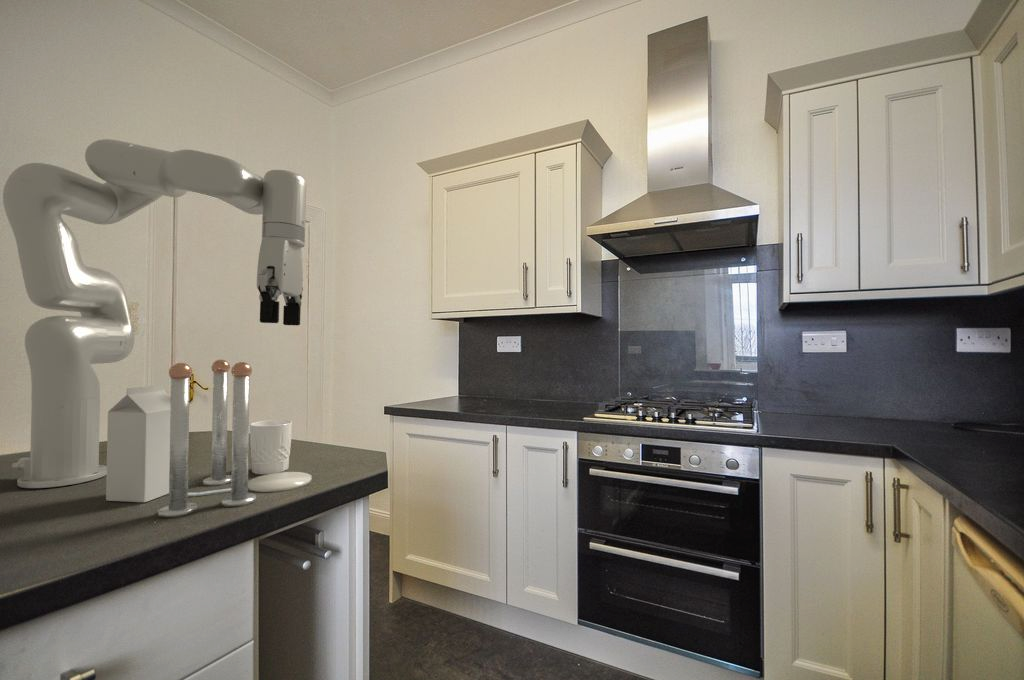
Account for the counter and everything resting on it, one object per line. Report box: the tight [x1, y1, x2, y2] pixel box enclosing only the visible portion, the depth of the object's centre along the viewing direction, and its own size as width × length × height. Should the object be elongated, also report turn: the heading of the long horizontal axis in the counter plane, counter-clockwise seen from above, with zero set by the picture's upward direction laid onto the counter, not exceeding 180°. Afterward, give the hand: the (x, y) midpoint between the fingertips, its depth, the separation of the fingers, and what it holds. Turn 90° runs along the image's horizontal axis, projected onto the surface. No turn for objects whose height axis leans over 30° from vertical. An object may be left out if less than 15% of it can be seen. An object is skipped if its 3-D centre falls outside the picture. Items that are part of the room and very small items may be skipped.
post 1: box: [157, 362, 198, 519], centre depth 72 cm, size 5×5×24 cm
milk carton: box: [105, 384, 171, 503], centre depth 79 cm, size 7×7×19 cm
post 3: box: [221, 361, 257, 508], centre depth 77 cm, size 5×5×24 cm
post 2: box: [202, 359, 231, 487], centre depth 88 cm, size 5×5×24 cm
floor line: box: [188, 487, 231, 497], centre depth 81 cm, size 11×2×1 cm, turn 112°
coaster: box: [248, 471, 313, 493], centre depth 87 cm, size 11×11×1 cm
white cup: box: [249, 419, 293, 475], centre depth 96 cm, size 8×8×10 cm
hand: (281, 324), depth 89 cm, fingers open, 9 cm apart
